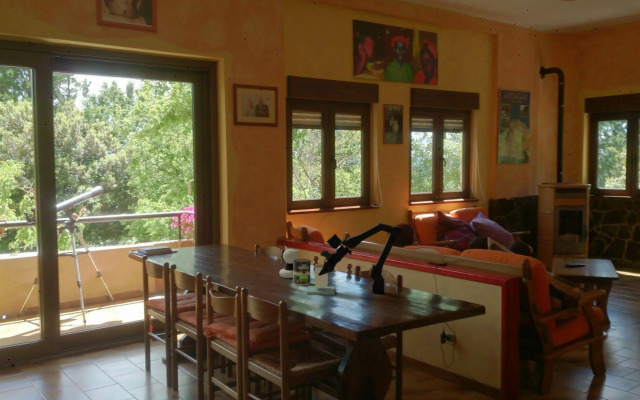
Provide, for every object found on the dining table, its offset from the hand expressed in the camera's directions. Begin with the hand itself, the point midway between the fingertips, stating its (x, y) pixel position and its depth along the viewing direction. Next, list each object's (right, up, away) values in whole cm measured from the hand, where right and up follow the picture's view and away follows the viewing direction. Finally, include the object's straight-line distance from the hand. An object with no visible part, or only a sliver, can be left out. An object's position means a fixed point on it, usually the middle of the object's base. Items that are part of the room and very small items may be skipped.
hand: (318, 274), depth 324 cm
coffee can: (-10, -9, +21) cm, 25 cm away
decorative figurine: (-17, -7, +41) cm, 45 cm away
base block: (+1, -10, +1) cm, 10 cm away
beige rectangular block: (+1, -7, 0) cm, 7 cm away
